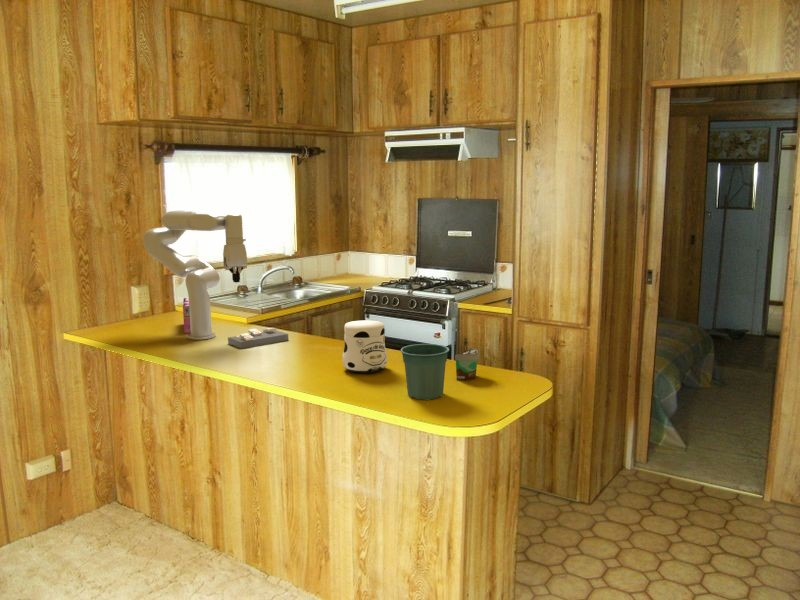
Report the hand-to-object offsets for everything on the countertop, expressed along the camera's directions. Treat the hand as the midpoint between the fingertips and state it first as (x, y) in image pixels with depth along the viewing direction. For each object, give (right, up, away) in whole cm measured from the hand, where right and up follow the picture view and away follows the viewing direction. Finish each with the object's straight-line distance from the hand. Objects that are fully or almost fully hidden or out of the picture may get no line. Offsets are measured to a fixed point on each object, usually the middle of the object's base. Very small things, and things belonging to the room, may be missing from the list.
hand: (236, 281), depth 321 cm
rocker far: (+14, -22, +7) cm, 27 cm away
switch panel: (+10, -27, +1) cm, 29 cm away
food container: (+100, -37, -58) cm, 121 cm away
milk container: (+60, -35, -46) cm, 84 cm away
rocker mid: (+8, -23, +3) cm, 24 cm away
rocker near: (+6, -24, -7) cm, 26 cm away
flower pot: (+82, -41, -78) cm, 120 cm away
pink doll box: (-29, -22, +32) cm, 49 cm away
